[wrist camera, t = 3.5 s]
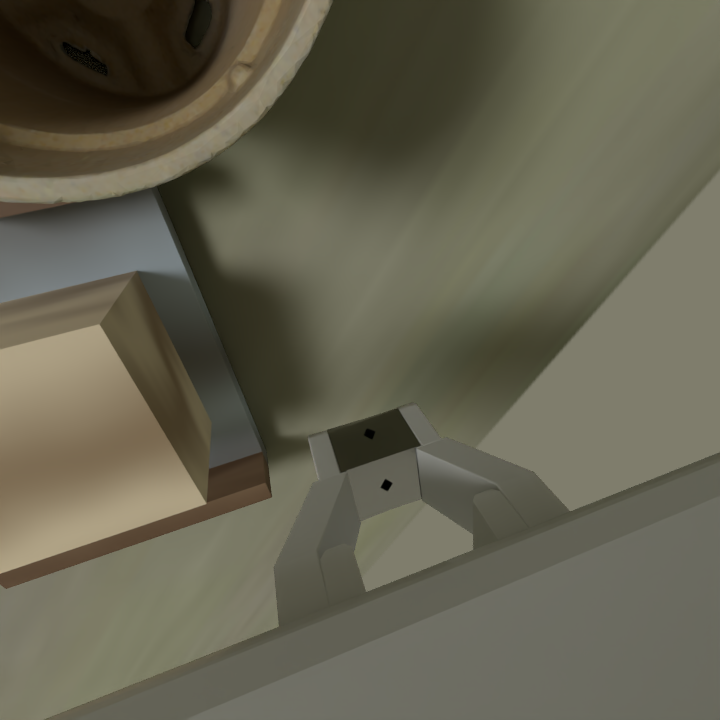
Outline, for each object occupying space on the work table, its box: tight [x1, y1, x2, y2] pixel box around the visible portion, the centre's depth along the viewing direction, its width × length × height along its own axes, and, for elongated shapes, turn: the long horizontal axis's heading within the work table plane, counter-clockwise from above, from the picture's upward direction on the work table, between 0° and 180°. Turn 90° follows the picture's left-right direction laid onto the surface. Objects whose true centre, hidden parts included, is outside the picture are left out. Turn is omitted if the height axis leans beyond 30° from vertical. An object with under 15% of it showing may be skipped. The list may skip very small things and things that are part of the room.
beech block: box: [0, 271, 212, 574], centre depth 13 cm, size 7×7×4 cm
